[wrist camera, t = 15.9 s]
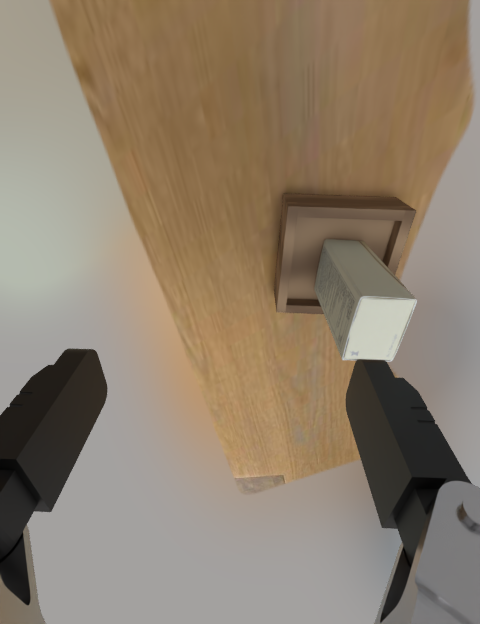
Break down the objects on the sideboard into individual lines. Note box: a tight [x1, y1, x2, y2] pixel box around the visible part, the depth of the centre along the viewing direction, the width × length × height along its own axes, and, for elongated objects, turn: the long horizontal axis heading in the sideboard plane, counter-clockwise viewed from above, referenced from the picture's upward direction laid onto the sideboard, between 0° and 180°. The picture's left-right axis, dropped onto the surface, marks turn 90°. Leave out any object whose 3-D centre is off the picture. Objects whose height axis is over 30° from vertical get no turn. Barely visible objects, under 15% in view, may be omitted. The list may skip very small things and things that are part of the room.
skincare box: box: [314, 239, 417, 362], centre depth 29 cm, size 6×4×12 cm
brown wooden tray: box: [274, 193, 416, 314], centre depth 35 cm, size 12×12×6 cm
